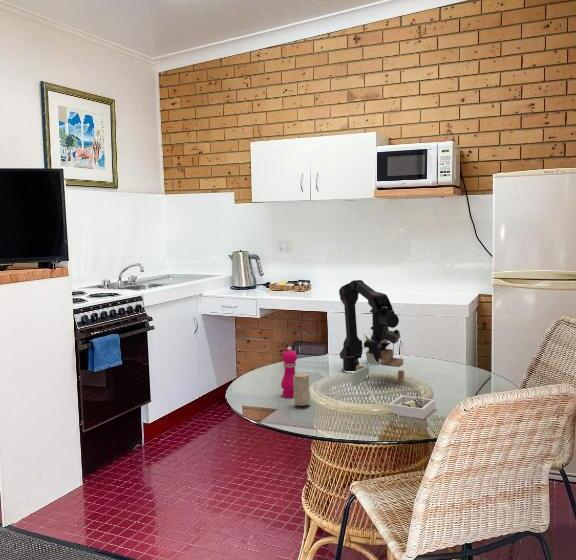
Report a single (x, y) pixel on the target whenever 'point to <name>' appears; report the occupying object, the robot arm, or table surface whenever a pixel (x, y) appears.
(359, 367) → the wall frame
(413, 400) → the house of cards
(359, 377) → the door
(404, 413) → the tray
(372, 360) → the house plant
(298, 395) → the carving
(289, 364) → the pepper mill
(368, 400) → the table surface
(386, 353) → the brown boot
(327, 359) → the table surface
